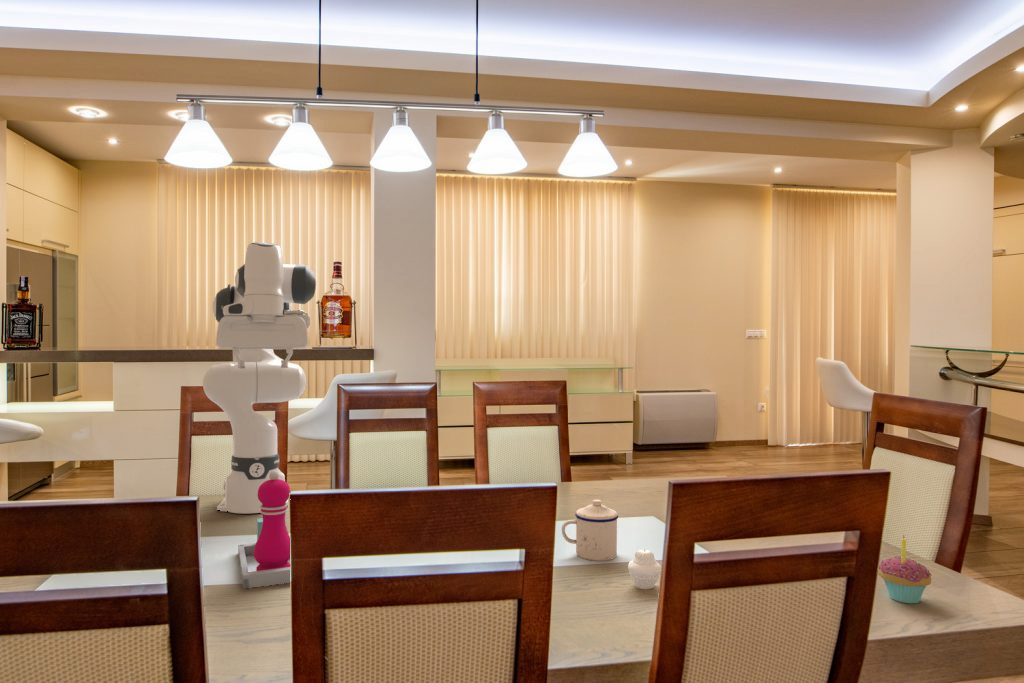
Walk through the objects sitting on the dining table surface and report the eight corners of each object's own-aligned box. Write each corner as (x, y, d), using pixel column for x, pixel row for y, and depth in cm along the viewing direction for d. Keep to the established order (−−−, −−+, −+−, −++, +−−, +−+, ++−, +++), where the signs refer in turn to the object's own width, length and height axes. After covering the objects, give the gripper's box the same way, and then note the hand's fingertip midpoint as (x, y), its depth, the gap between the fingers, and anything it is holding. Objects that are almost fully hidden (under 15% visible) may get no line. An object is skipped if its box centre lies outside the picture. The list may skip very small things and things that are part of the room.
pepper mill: (280, 582, 127) (281, 476, 127) (245, 579, 129) (246, 474, 129) (300, 569, 135) (300, 468, 134) (266, 566, 136) (267, 467, 136)
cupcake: (930, 611, 117) (931, 542, 117) (874, 601, 121) (875, 534, 121) (931, 595, 124) (932, 530, 124) (878, 586, 129) (879, 523, 129)
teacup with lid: (615, 548, 150) (615, 495, 150) (620, 562, 141) (620, 506, 141) (560, 547, 150) (561, 494, 150) (562, 560, 141) (562, 505, 141)
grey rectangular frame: (238, 553, 144) (238, 520, 144) (294, 547, 149) (294, 515, 149) (243, 589, 124) (243, 551, 124) (308, 580, 129) (308, 543, 129)
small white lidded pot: (620, 585, 128) (621, 547, 128) (642, 578, 132) (643, 542, 132) (645, 595, 123) (646, 556, 123) (667, 587, 127) (668, 550, 127)
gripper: (309, 312, 166) (309, 368, 165) (219, 310, 160) (218, 369, 159) (309, 308, 160) (309, 367, 159) (215, 306, 154) (214, 367, 153)
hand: (263, 368), depth 159 cm, fingers open, 8 cm apart
